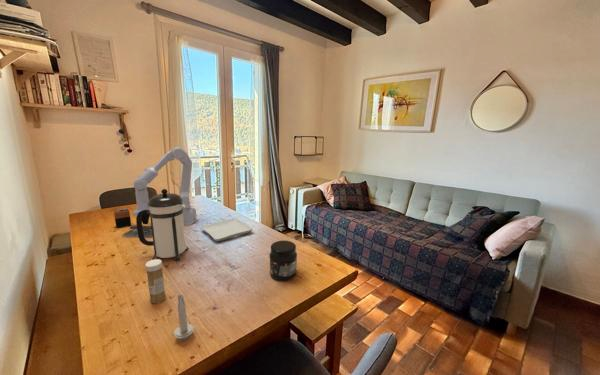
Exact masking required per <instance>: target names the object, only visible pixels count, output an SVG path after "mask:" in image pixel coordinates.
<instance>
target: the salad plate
mask: <svg viewBox="0 0 600 375" xmlns="http://www.w3.org/2000/svg"><path fill="white" fill-rule="evenodd" d="M200 229H201V230H202V231H204V232H205V233H206V234H208V235H209V236H210V237H211V238H212V239H213V240H214V241H215V242H222V241H224V240H229V239H232V238H236V237H238V236H242V235H245V234H248V233H251V231H253V229H254V228H253V227H251V226H250V225H248V224H246V223H245V222H243V221H241V220H240V219H239V218H236V217H234V218H229V219H224V220H221V221H217V222H216V221H215V222H212V223H209V224H205V225H201V226H200Z"/></svg>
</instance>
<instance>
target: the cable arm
mask: <svg viewBox="0 0 600 375" xmlns="http://www.w3.org/2000/svg"><path fill="white" fill-rule="evenodd" d="M142 227H143V229H145V230H152V228H151V224H143V223H142ZM132 229H137V223H133V224H131V226H129V230H132Z"/></svg>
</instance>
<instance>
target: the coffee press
mask: <svg viewBox="0 0 600 375" xmlns="http://www.w3.org/2000/svg"><path fill="white" fill-rule="evenodd" d="M179 195H180V194H176V193H168V190H167V189H166V188H163V189H161V193H159V194H156V195H153V196H152V197H150V198H149V202H148V206H149V210H142V211H141V212H139V213H138V215H137V216H135V217H136V218H135V219H136V220H135V222H136V223H135V224H137V231H138V237H139V238H138V237H137V238H138V239H139V241H140V242H141V243H142V244H143V245H145V246H153V252H154V254H153V257H152V259H151V260H154V259H159V260H160V258H161V259H168V258H174V259H175V261H176V262H179V261H180V260H181V256H180V255H181V254H183V253H184V252H185V251H188V250H189V247H188V245H187V244H186V236H185V226H184V223H183V208H185V205H184V203H183V202H182V199H181V197H180V196H179ZM144 214H150V217H149V219H150V225H151V228H152V236H153V237H152V240H147V239H146V238H144V234H143V227H142V224H143V223H142V216H143V215H144ZM156 256H157V257H156Z"/></svg>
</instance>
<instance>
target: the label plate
mask: <svg viewBox="0 0 600 375" xmlns="http://www.w3.org/2000/svg"><path fill="white" fill-rule="evenodd" d="M143 234H144V238H145V239H146V238H147V239H153V236H152V230H145V229H143ZM121 236H122V238H138V239H139V237H138V231H137V229H129V231H127V232H124V233H123V234H121Z"/></svg>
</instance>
